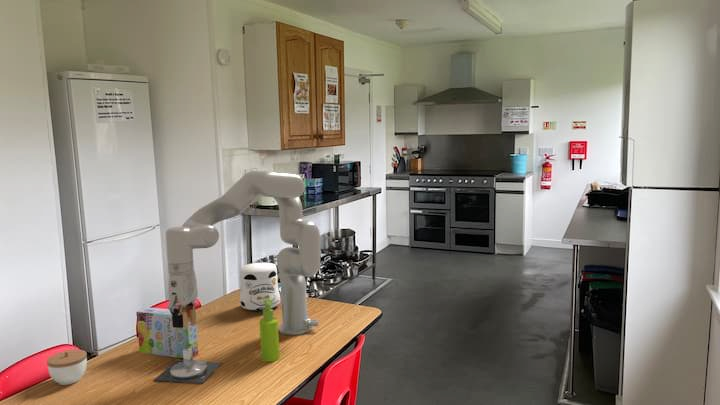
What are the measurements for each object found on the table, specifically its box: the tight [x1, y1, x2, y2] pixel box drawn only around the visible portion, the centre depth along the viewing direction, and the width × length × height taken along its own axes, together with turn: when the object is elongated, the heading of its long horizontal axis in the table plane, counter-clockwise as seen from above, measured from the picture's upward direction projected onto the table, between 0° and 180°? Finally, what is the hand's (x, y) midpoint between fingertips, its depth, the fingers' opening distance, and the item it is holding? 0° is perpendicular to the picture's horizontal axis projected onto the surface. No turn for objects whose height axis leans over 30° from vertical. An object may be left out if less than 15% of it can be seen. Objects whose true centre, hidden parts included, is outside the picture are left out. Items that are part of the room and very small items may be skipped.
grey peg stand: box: [153, 347, 223, 385], centre depth 164 cm, size 16×14×8 cm
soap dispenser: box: [259, 299, 280, 363], centre depth 172 cm, size 6×7×20 cm
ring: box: [172, 306, 197, 329], centre depth 162 cm, size 7×7×5 cm
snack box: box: [136, 306, 199, 359], centre depth 179 cm, size 21×6×15 cm, turn 71°
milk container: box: [238, 262, 281, 312], centre depth 223 cm, size 17×17×18 cm
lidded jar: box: [46, 349, 88, 386], centre depth 161 cm, size 11×11×9 cm
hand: (184, 322), depth 162 cm, fingers closed on ring, 7 cm apart
